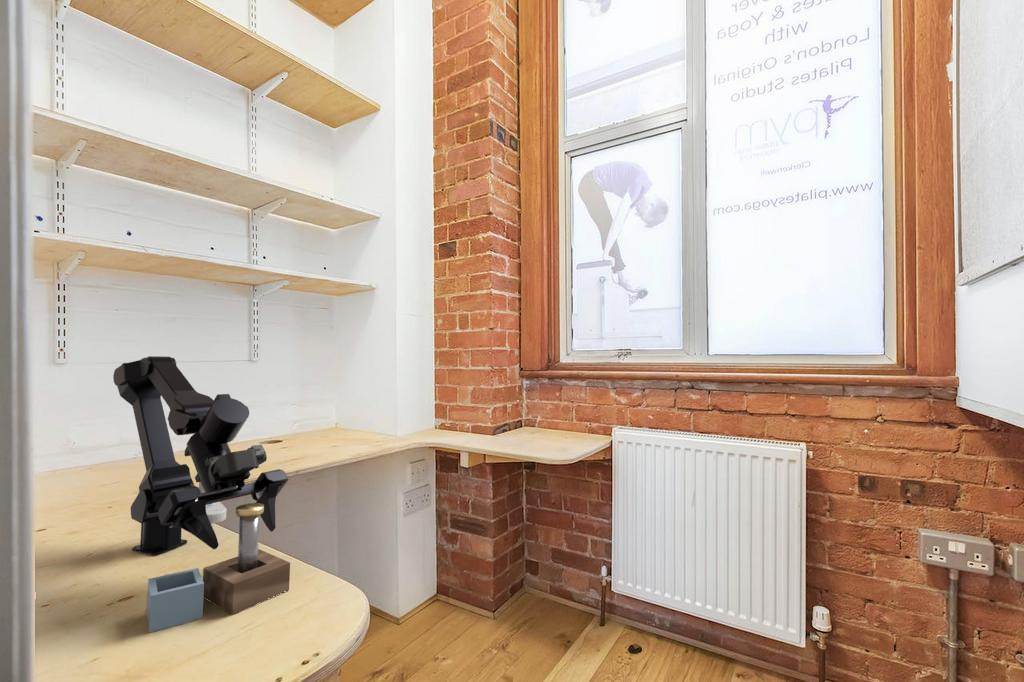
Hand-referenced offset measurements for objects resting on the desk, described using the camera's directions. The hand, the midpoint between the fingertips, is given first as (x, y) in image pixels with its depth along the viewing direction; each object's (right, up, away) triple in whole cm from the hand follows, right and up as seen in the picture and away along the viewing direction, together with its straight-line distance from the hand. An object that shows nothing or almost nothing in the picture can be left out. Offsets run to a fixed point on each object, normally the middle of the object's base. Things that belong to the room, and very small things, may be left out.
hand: (246, 538), depth 78 cm
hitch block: (0, -9, -1) cm, 9 cm away
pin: (0, -9, -1) cm, 9 cm away
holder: (-6, -8, -8) cm, 13 cm away
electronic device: (-28, -9, +35) cm, 46 cm away
